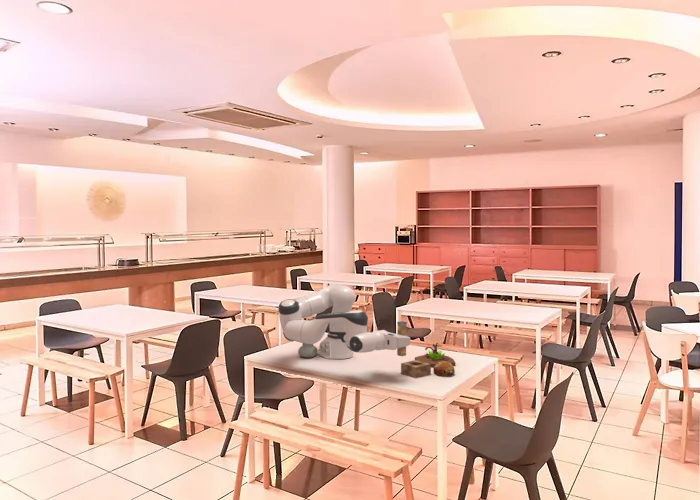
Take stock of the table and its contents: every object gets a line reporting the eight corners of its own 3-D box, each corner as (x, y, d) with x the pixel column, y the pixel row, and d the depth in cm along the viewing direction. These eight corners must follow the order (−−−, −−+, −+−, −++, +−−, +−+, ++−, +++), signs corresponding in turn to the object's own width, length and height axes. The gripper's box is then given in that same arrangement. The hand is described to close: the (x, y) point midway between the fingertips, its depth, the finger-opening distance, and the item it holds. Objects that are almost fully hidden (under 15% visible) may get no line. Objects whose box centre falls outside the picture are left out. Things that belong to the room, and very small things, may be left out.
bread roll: (452, 379, 252) (451, 363, 255) (457, 376, 242) (456, 359, 245) (432, 379, 251) (431, 363, 254) (436, 376, 242) (435, 359, 245)
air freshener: (310, 359, 274) (310, 341, 274) (296, 358, 277) (296, 339, 276) (318, 355, 284) (318, 337, 284) (304, 353, 287) (304, 335, 287)
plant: (425, 369, 257) (425, 347, 256) (410, 360, 276) (410, 339, 275) (461, 367, 262) (462, 345, 261) (444, 358, 281) (445, 337, 280)
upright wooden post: (397, 355, 247) (397, 321, 246) (401, 354, 248) (402, 321, 248) (401, 356, 244) (401, 322, 244) (406, 355, 246) (406, 322, 245)
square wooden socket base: (401, 373, 248) (401, 363, 248) (415, 370, 255) (415, 360, 255) (416, 378, 241) (416, 367, 241) (430, 374, 247) (430, 364, 247)
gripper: (367, 342, 246) (388, 339, 255) (396, 350, 230) (418, 346, 239) (367, 329, 246) (388, 326, 255) (396, 336, 230) (418, 333, 238)
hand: (403, 336), depth 247 cm, fingers closed on upright wooden post, 3 cm apart
